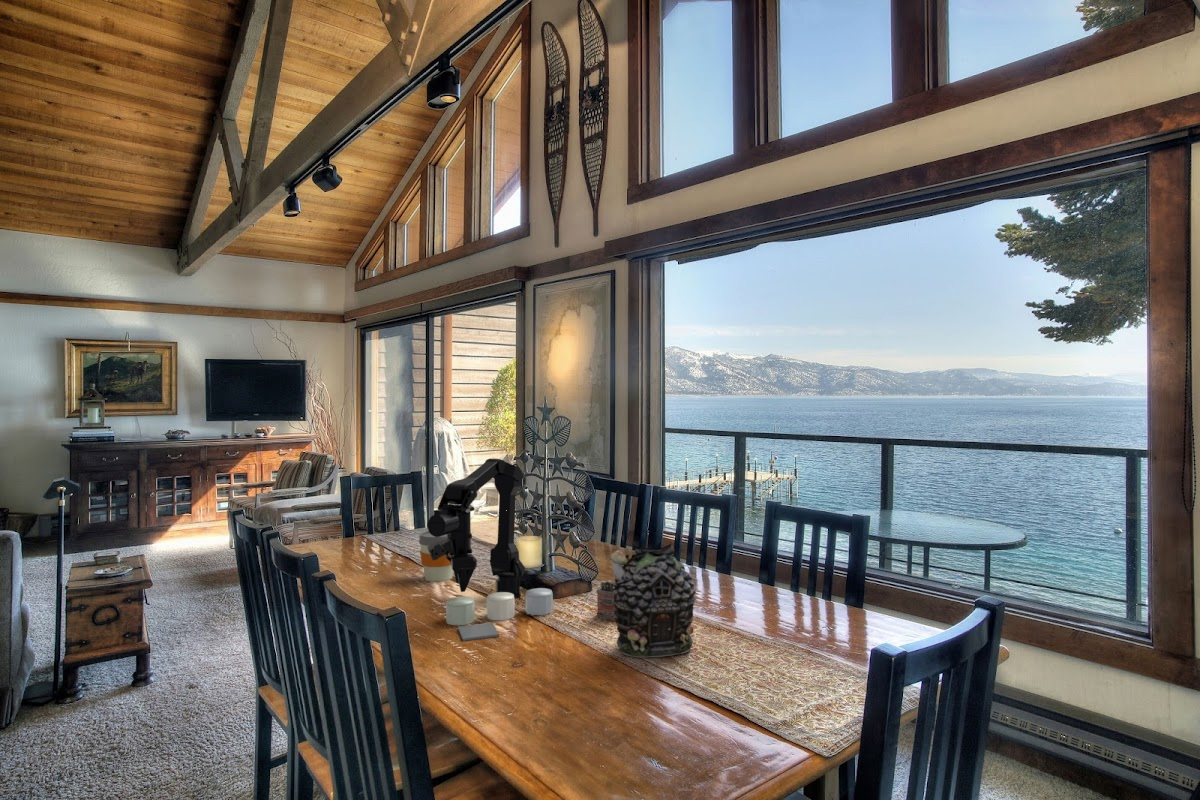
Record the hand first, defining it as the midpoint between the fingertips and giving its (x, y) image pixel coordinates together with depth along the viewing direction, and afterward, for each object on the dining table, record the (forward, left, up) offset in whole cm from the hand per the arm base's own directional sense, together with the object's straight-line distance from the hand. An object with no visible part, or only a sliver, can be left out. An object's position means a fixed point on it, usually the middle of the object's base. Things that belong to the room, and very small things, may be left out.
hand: (460, 586), depth 180 cm
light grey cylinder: (-22, 0, -9) cm, 24 cm away
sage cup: (0, 0, -9) cm, 9 cm away
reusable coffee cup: (+1, -46, -9) cm, 47 cm away
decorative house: (-41, +37, -9) cm, 56 cm away
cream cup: (-11, 0, -9) cm, 14 cm away
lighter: (-39, +12, -9) cm, 42 cm away
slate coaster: (-3, +11, -9) cm, 15 cm away
